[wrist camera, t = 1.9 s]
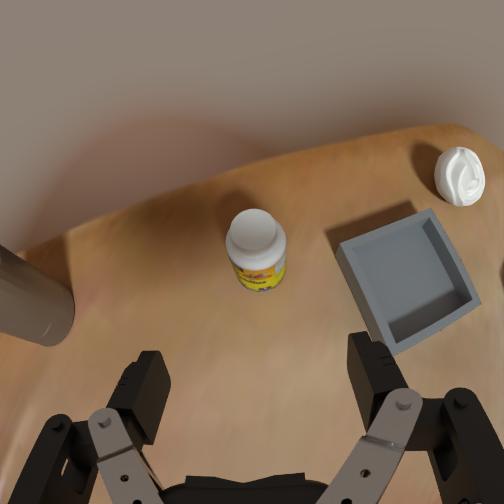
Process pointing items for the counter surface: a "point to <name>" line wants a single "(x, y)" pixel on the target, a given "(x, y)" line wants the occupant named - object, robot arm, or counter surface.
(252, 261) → the supplement bottle
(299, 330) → the counter surface
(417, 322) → the tray
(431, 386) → the counter surface
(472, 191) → the white swirled ball
